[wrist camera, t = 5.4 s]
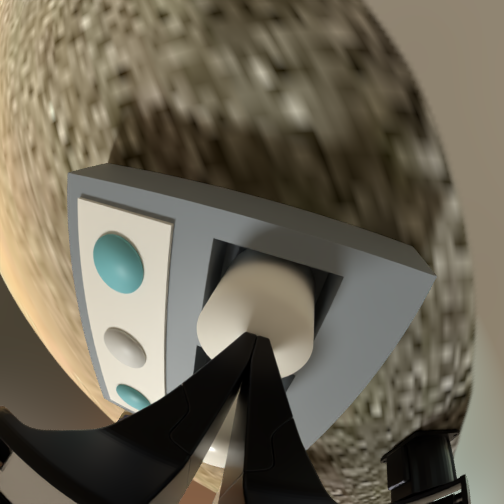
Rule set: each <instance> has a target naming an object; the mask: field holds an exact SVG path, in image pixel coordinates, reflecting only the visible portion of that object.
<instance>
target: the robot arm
mask: <svg viewBox="0 0 504 504" xmlns="http://www.w3.org/2000/svg"><path fill="white" fill-rule="evenodd" d="M241 383H242V384H241ZM240 386H241V387H240ZM239 389H240V390H239ZM238 392H239V394H238ZM237 394H238V398H237V404H236V409H235V415H234V420H233V426H232V431H231V437H230V442H229V448H228V453H227V458H226V464H225V469H224V474H223V479H222V485H221V490H220V495H219V500H218V504H338V503H336V502H335V501H334V500H333V499H332V498H331V497H330V496H329V494H328V493H327V492H326V490H325V488H324V487H323V485H322V483H321V481H320V479H319V477H318V475H317V473H316V471H315V469H314V467H313V465H312V463H311V461H310V459H309V457H308V454H307V452H306V450H305V448H304V446H303V443H302V441H301V438H300V435H299V432H298V430H297V427H296V423H295V420H294V418H293V414H292V411H291V408H290V404H289V401H288V398H287V395H286V391H285V388H284V385H283V382H282V378H281V375H280V372H279V369H278V365H277V362H276V359H275V355H274V352H273V349H272V346H271V342H270V339H269V338H266V337H263V336H257V335H256V334H253V333H250V332H244V333H243V334H242V335H240V336H239V337H238V338H237V339H236V340H235V341H233V342H232V343H231V344H230V345H229V346H227V347H226V348H225V349H224V350H223V351H221V352H220V353H219V354H218V355H217V356H215V357H214V358H213V359H212V360H210V361H209V362H208V363H207V364H205V365H204V366H203V367H202V368H200V369H199V370H198V371H197V372H195V373H194V374H193V375H192V376H190V377H189V378H188V379H187V380H185V381H184V382H183V383H182V385H181V384H180V385H179V386H177V387H176V388H175V389H174V390H172V391H171V392H169V393H168V394H166V395H165V396H164V397H162V398H161V399H159V400H157V401H156V402H154V403H152V404H151V405H149V406H147V407H145V408H143V409H141V410H140V411H138V412H136V413H134V414H132V415H130V416H128V417H126V418H124V419H122V420H120V421H118V422H116V423H113V424H111V425H109V426H106V427H102V428H97V429H86V430H40V429H35V428H31V427H29V426H26V425H25V424H23V423H21V422H20V421H19V420H18V419H17V418H16V417H15V416H14V415H13V414H12V413H11V412H10V411H9V410H8V409H7V408H5V406H0V504H178V503H179V501H180V499H181V498H182V496H183V495H184V493H185V491H186V489H187V488H188V486H189V484H190V482H191V481H192V479H193V477H194V476H195V474H196V472H197V470H198V469H199V467H200V465H201V463H202V461H203V460H204V458H205V456H206V454H207V452H208V450H209V449H210V447H211V445H212V443H213V441H214V439H215V437H216V436H217V434H218V432H219V430H220V428H221V426H222V424H223V422H224V420H225V418H226V416H227V414H228V412H229V410H230V408H231V406H232V404H233V402H234V401H235V399H236V396H237ZM458 435H459V430H447V431H419V432H416V433H414V434H413V435H412V436H410V437H409V438H408V439H407V440H405V441H404V442H403V443H402V444H400V445H399V446H398V447H396V448H395V449H394V450H392V451H391V452H390V453H388V454H387V455H385V456H384V457H382V458H381V463H387V480H388V490H391V503H390V504H425V503H428V502H431V501H433V500H436V499H439V498H441V497H443V496H446V495H448V494H450V493H453V492H455V491H457V490H459V489H461V492H460V493H458V494H456V495H455V494H451V495H449V496H447V497H444V498H442V499H439V500H437V501H434V502H431V503H429V504H471V502H470V492H469V485H468V480H467V477H466V475H462V476H460V478H458V479H457V477H456V470H455V464H454V459H453V454H452V449H451V444H450V441H451V440H453V439H454V438H455V437H456V436H458Z"/></svg>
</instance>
